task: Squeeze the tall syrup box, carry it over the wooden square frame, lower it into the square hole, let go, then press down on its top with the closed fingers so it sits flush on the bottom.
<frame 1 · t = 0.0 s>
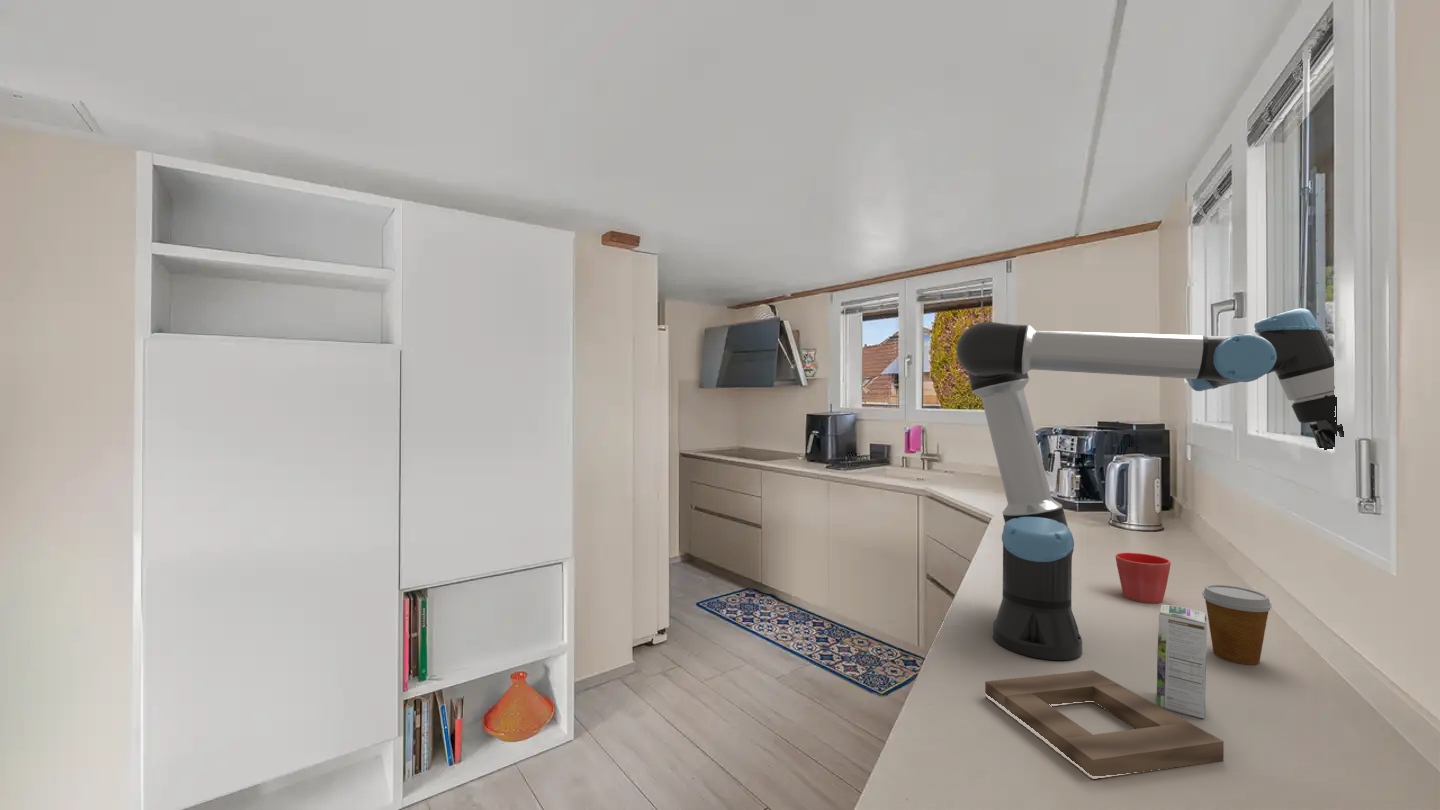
hand: (1377, 516, 94), 28 cm above the countertop, tool tilted 20°, fingers open, 13 cm apart
wooden square frame: (1092, 725, 81), on the countertop
disposable coffee cup: (1235, 658, 104), on the countertop
syrup box: (1181, 707, 86), on the countertop
flower pot: (1142, 598, 135), on the countertop
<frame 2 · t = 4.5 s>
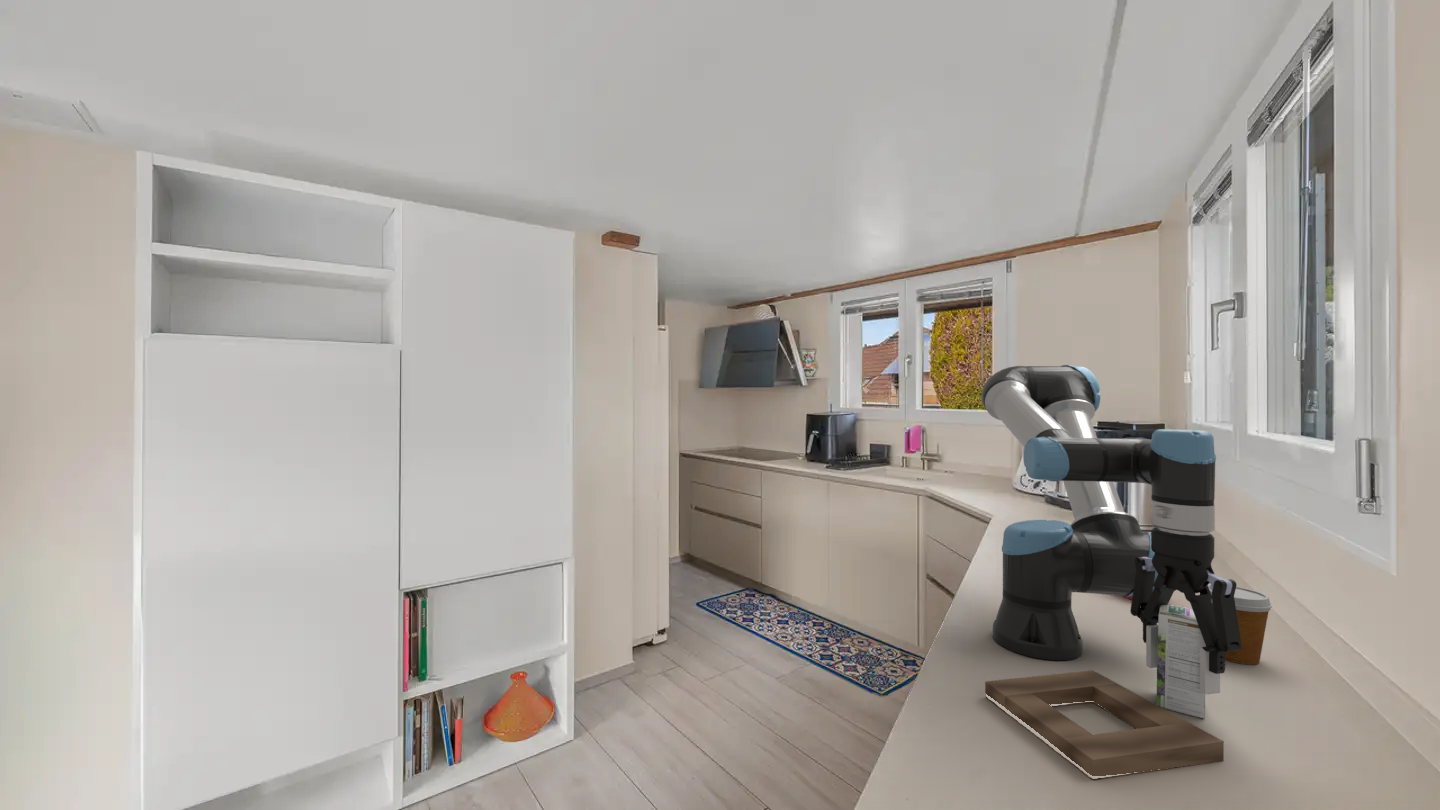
hand: (1181, 678, 86), 4 cm above the countertop, tool pointing down, fingers closed on syrup box, 8 cm apart
syrup box: (1181, 707, 86), on the countertop, touching gripper
everything else where it was.
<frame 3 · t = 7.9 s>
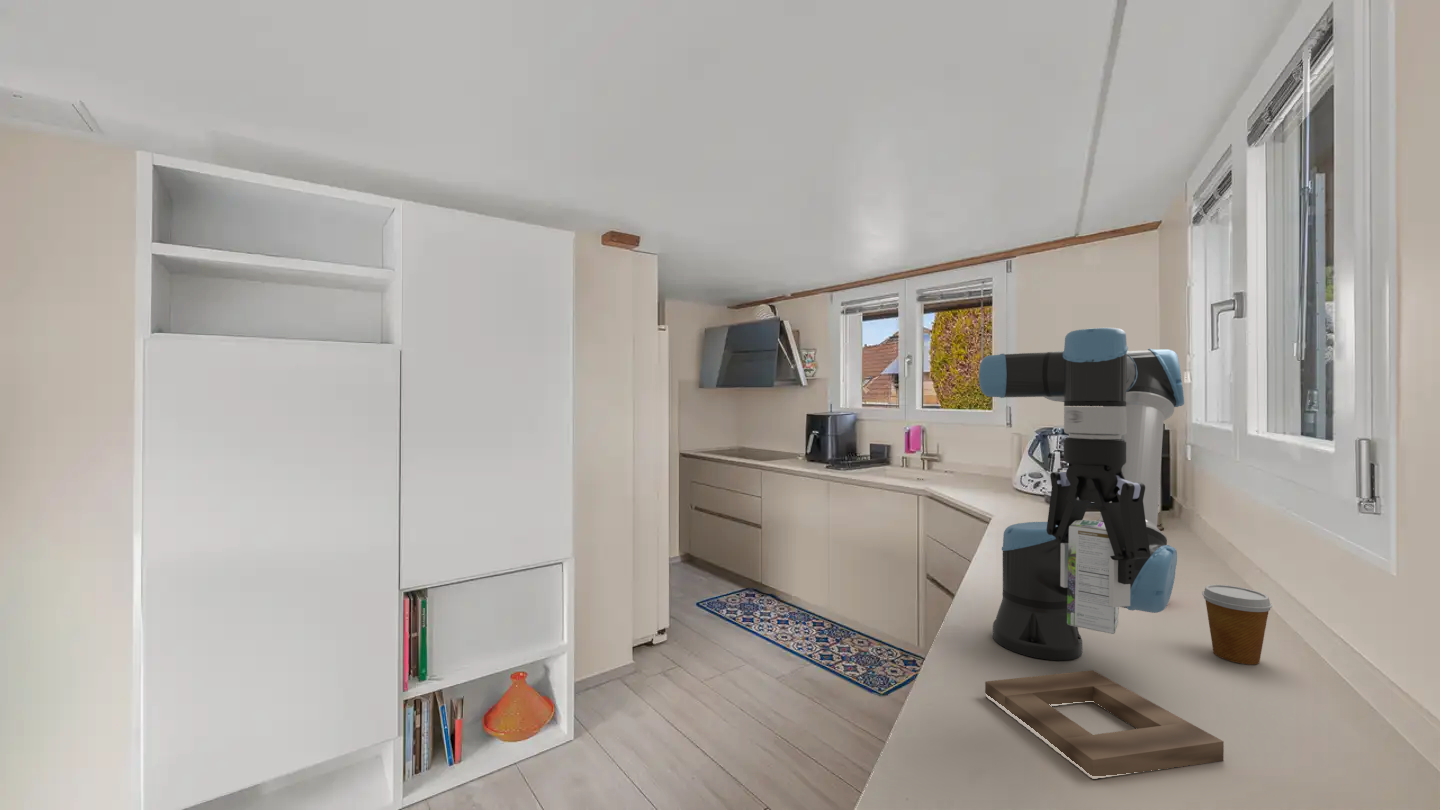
hand: (1093, 595, 81), 19 cm above the countertop, tool pointing down, fingers closed on syrup box, 8 cm apart
syrup box: (1093, 626, 81), point 14 cm above the countertop, touching gripper
everything else where it was.
when the fingers open (5 cm above the countertop, at t = 11.1 s): syrup box stays where it is, resting in wooden square frame.
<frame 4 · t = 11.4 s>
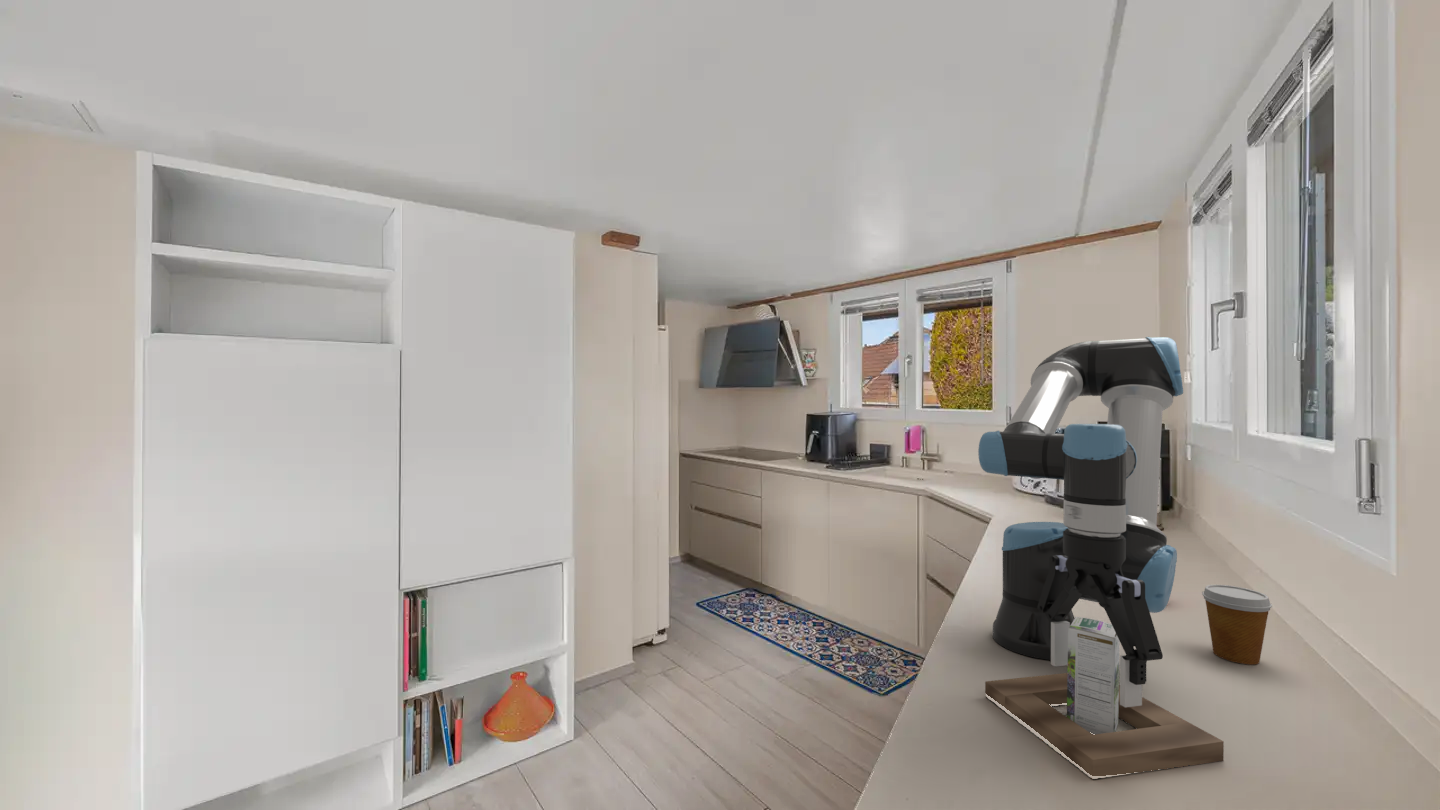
hand: (1093, 683, 81), 6 cm above the countertop, tool pointing down, fingers open, 11 cm apart
syrup box: (1093, 727, 81), resting in wooden square frame
everything else where it was.
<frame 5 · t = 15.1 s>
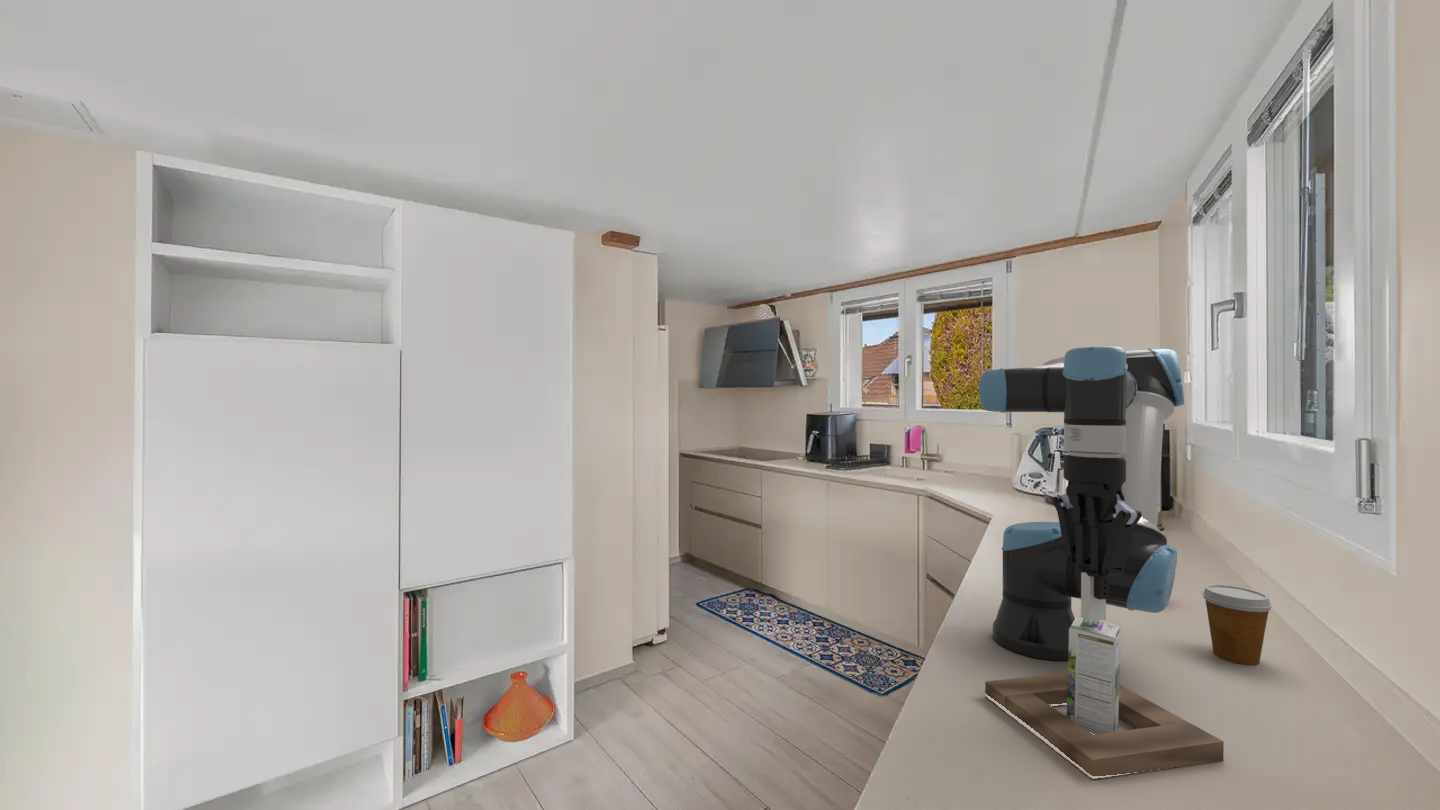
hand: (1093, 618, 81), 15 cm above the countertop, tool pointing down, fingers closed
nothing on the countertop moved.
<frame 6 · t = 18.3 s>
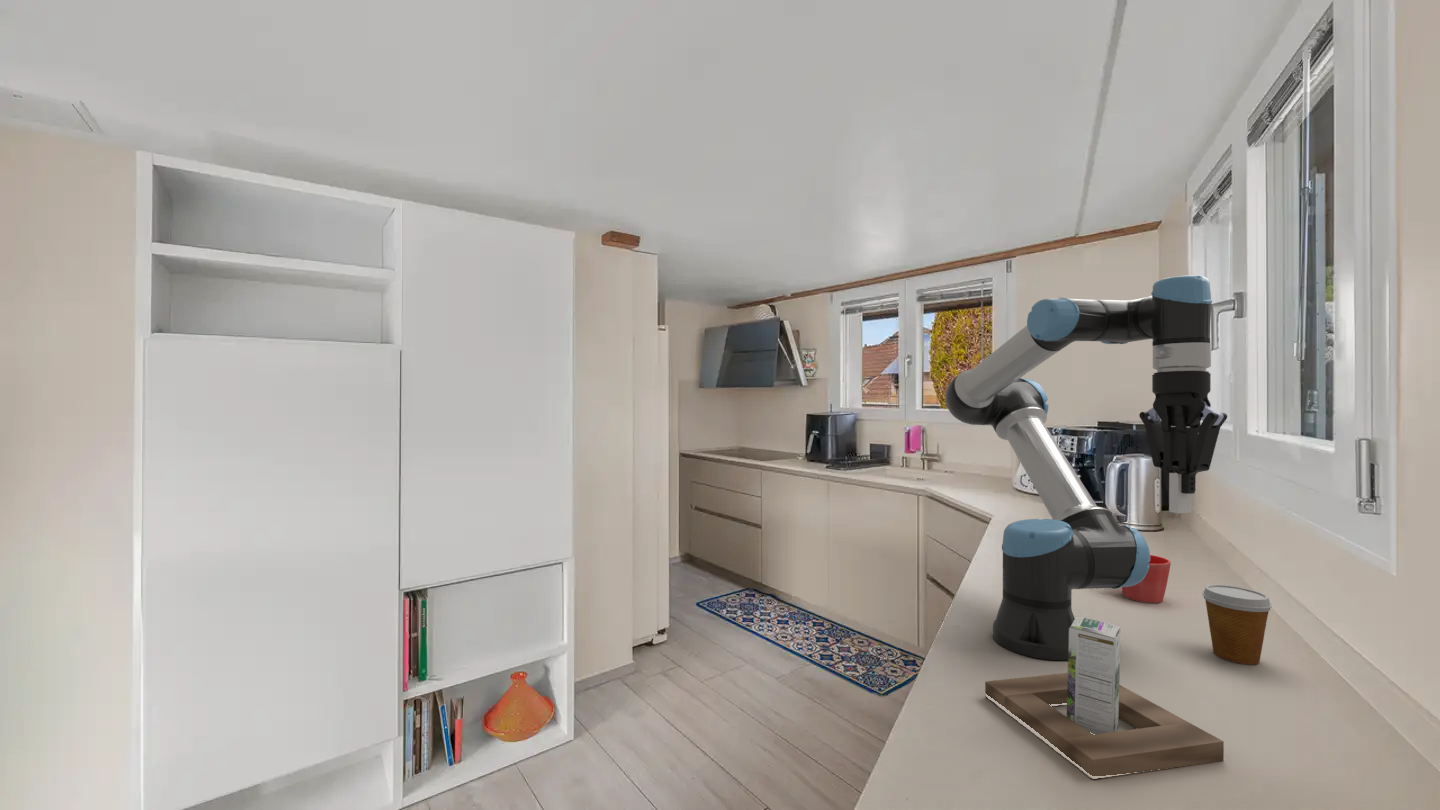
hand: (1180, 512, 94), 28 cm above the countertop, tool pointing down, fingers closed
nothing on the countertop moved.
at the end: syrup box 0.1 cm off-centre on the wooden square frame, point 0.0 cm above the wooden square frame's base; syrup box tilted 0°; the gripper is holding nothing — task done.
